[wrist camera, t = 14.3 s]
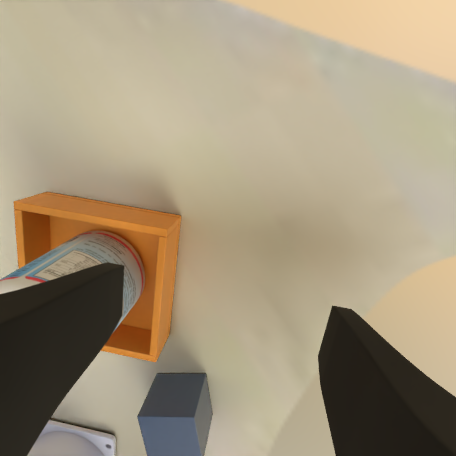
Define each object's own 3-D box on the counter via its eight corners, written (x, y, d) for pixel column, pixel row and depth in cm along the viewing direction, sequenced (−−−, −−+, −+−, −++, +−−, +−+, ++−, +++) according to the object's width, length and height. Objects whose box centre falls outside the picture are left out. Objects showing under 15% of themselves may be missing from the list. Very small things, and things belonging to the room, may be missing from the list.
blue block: (212, 413, 26) (202, 462, 22) (165, 412, 27) (148, 460, 23) (206, 373, 25) (194, 417, 21) (156, 373, 25) (137, 416, 22)
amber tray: (169, 334, 24) (156, 362, 21) (51, 310, 25) (23, 334, 22) (181, 215, 21) (167, 229, 18) (46, 191, 22) (13, 201, 19)
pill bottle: (77, 307, 24) (-79, 452, 13) (58, 229, 22) (-140, 325, 11) (154, 307, 23) (54, 463, 12) (141, 226, 21) (12, 327, 11)
